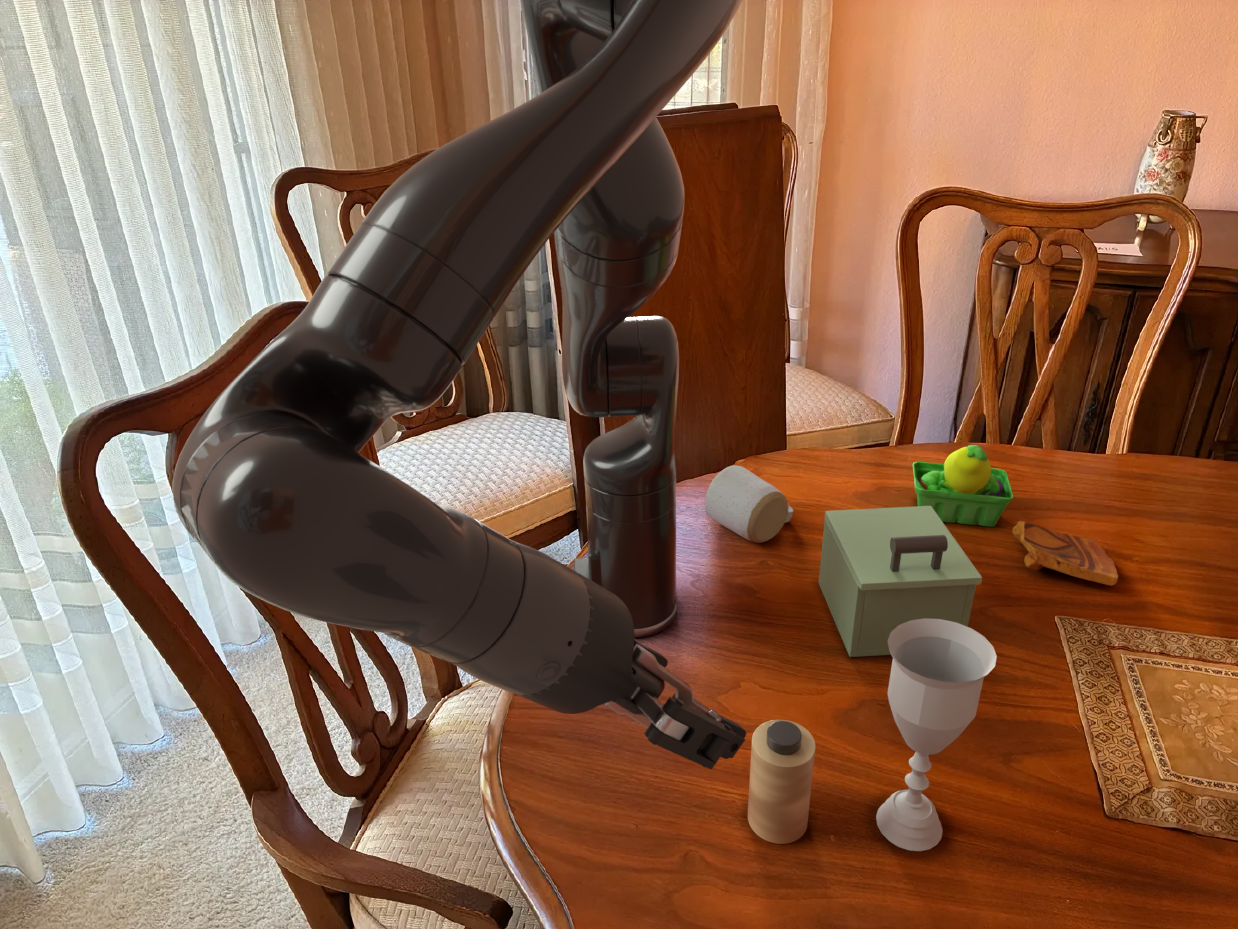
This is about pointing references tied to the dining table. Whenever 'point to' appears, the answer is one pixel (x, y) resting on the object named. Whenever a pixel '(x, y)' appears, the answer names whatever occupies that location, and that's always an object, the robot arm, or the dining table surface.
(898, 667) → the chalice
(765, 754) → the pepper mill
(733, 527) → the ceramic mug
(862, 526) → the bread box lid
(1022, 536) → the pottery fragment
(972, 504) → the fruit basket
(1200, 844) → the dining table surface
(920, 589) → the bread box
